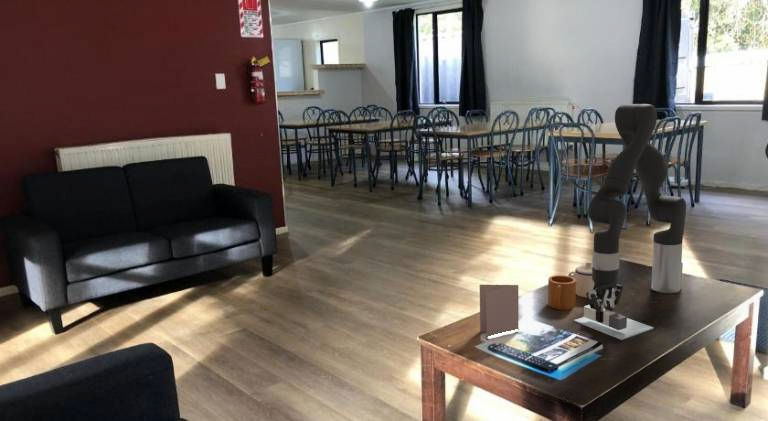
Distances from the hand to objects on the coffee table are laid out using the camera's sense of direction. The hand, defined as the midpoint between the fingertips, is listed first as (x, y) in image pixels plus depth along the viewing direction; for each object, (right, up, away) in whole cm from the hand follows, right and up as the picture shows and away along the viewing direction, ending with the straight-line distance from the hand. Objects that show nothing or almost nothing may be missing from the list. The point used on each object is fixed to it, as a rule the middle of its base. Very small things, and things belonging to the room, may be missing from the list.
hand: (604, 320), depth 191 cm
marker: (0, -1, 0) cm, 1 cm away
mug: (-8, +1, +20) cm, 21 cm away
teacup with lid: (+4, +4, +31) cm, 32 cm away
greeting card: (-32, -5, -2) cm, 32 cm away
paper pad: (+4, -2, +2) cm, 5 cm away
